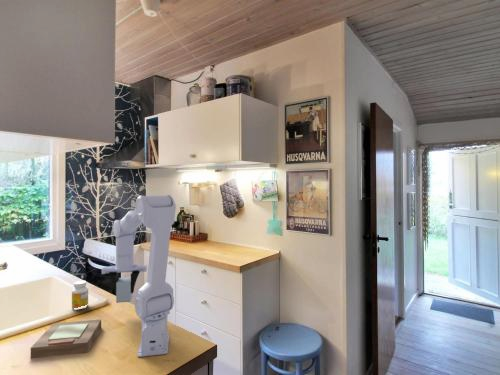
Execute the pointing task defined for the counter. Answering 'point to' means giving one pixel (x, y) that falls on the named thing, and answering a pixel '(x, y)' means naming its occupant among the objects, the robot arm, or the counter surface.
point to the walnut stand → (66, 338)
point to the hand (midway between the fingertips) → (124, 292)
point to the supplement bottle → (79, 294)
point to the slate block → (123, 290)
